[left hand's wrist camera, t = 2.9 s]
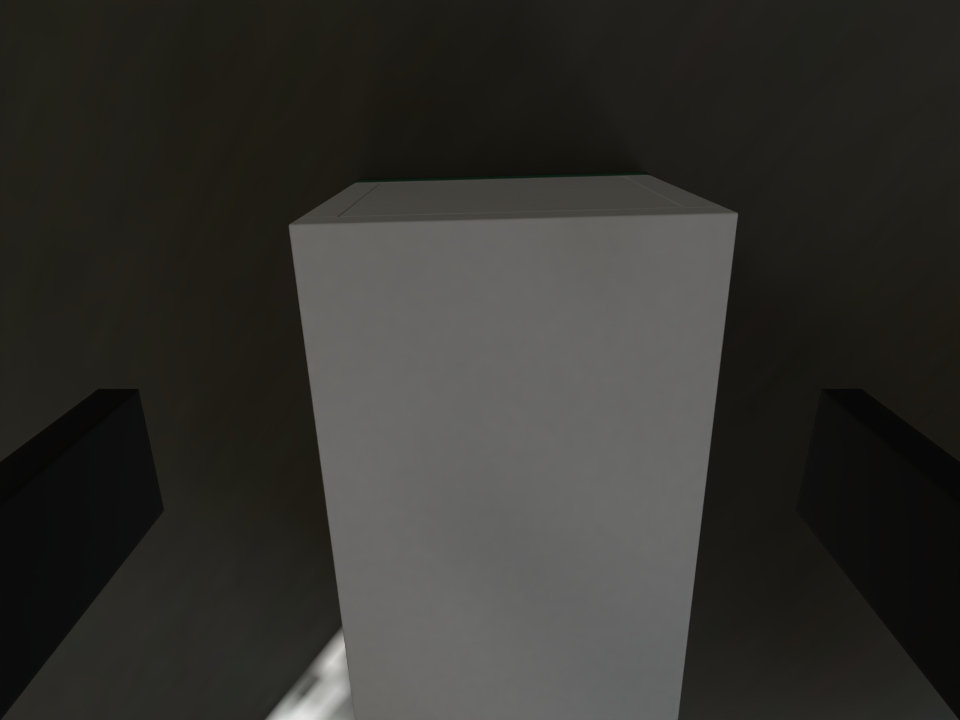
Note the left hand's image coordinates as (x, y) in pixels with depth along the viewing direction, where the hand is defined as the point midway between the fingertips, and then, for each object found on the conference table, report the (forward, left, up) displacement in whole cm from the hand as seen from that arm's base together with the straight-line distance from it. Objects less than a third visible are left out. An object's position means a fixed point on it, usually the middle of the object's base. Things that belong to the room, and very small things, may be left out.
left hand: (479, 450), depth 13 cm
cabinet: (+1, +6, -15) cm, 16 cm away
